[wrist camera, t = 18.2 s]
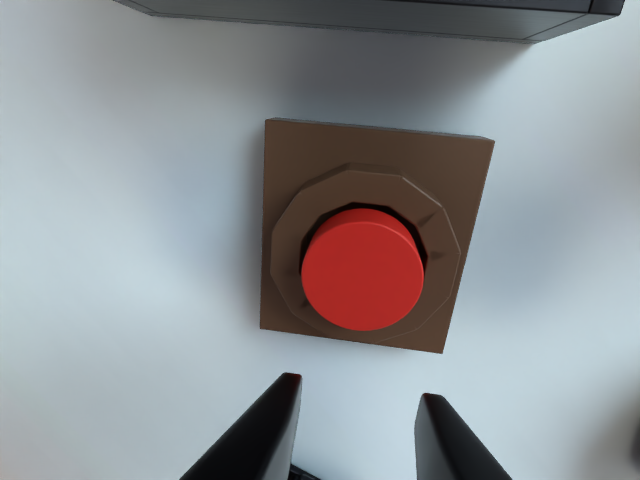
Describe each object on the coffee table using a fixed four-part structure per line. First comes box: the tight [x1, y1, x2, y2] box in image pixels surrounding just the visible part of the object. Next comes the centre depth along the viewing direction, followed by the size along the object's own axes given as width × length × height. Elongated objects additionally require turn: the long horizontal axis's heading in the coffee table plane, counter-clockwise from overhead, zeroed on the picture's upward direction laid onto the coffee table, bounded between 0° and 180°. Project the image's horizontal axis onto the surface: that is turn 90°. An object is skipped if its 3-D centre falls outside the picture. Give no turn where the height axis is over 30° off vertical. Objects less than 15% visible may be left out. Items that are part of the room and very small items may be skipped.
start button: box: [301, 208, 424, 331], centre depth 14 cm, size 4×4×2 cm
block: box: [260, 118, 495, 354], centre depth 16 cm, size 10×9×4 cm
